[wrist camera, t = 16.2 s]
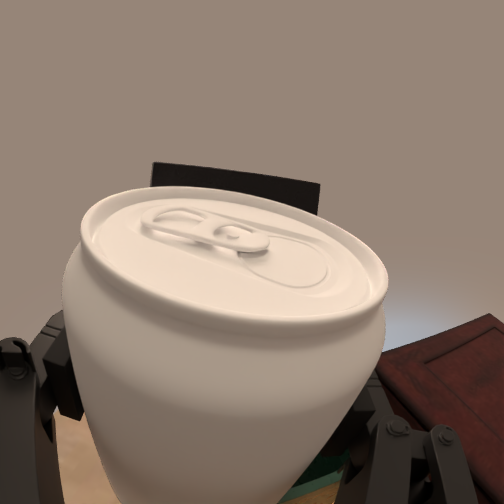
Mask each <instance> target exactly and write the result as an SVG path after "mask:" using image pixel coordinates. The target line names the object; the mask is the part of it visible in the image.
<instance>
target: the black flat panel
mask: <svg viewBox="0 0 504 504" xmlns="http://www.w3.org/2000/svg"><path fill="white" fill-rule="evenodd" d="M167 186H181V187H200V188H210V189H218V190H225V191H232V192H237V193H243V194H248V195H252V196H257V197H261V198H265V199H269V200H272V201H276V202H279V203H282V204H286V205H289V206H292V207H295V208H297V209H300V210H303V211H306V212H308V213H311V214H313V215H315V216H317V211H318V203H319V193H320V184H318V183H313V182H307V181H302V180H296V179H290V178H283V177H277V176H271V175H263V174H257V173H250V172H243V171H236V170H228V169H220V168H212V167H203V166H194V165H185V164H174V163H163V162H153V163H152V171H151V180H150V187H167Z"/></svg>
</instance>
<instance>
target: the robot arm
mask: <svg viewBox="0 0 504 504" xmlns="http://www.w3.org/2000/svg"><path fill="white" fill-rule="evenodd" d="M381 386H382V385H381V383H380V381H379V380H378V376H377V374H376V372H375V370H373V372H372V373H371V375H370V377H369V378H368V380H367V382H366V384H365V385H364V387H363V388H362V390H361V392H360V393H359V395H358V396H357V398H356V400H355V401H354V403H353V404H352V406H351V407H350V409H349V410H348V412H347V413H346V415H345V416H344V418H343V419H342V421H341V422H340V424H339V425H338V427H337V428H336V430H335V431H334V432H333V434H332V435H331V437H330V438H329V439H328V441H327V442H326V444H325V445H324V446H323V448H322V449H321V450H320V454H321V457H331V456H341V455H342V454H343V453H344V452H345V450H346V449H347V448H348V450H349V454H350V457H349V458H348V459H347V460H346V461H345V462H344V463H343V465H342V466H341V467H340V468H339V469H338V471H337V473H338V474H339V473H340V472H341V471H342V470H343V469H344V470H343V474H342V477H341V481H340V485H339V488H338V492H337V495H336V499H335V502H334V504H478V500H477V496H476V492H475V488H474V484H473V481H472V477H471V474H470V470H469V467H468V464H467V460H466V457H465V454H464V451H463V448H462V445H461V442H460V439H459V436H458V434H457V433H456V431H455V430H454V429H453V428H451V427H449V426H447V425H443V424H440V425H436V426H435V427H434V428H433V429H432V430H431V431H430V432H424V431H418V430H413V429H411V427H410V425H409V423H408V422H407V421H406V420H405V419H403V418H402V417H399V416H397V415H394V413H393V410H392V408H391V406H390V403H389V401H388V399H387V397H386V394H385V392H384V390H383V388H382V387H381ZM56 406H58V409H59V411H60V414H61V415H63V416H66V417H69V418H72V419H75V420H78V421H80V420H81V418H82V416H83V413H84V408H83V405H82V401H81V397H80V393H79V390H78V386H77V382H76V377H75V373H74V369H73V364H72V360H71V355H70V350H69V345H68V339H67V333H66V328H65V321H64V314H63V310H61V311H60V312H58V313H56V314H55V315H53V316H52V317H51V318H50V319H49V321H48V322H47V323H46V326H44V327H43V329H42V330H41V332H40V333H39V334H38V335H37V336H36V338H35V339H34V340H33V342H32V343H31V344H30V346H29V345H28V344H27V342H26V341H24V340H22V339H21V338H15V337H12V338H6V339H3V340H1V341H0V504H65V503H64V498H63V492H62V486H61V479H60V472H59V463H58V454H57V443H56V428H55V419H54V415H53V412H54V410H55V408H56ZM429 475H431V480H432V481H430V480H429V477H428V476H429Z"/></svg>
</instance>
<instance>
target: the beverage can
mask: <svg viewBox="0 0 504 504" xmlns="http://www.w3.org/2000/svg"><path fill="white" fill-rule="evenodd" d="M388 282H389V281H388V275H387V271H386V269H385V267H384V265H383V263H382V262H381V260H380V259H379V258H378V256H377V255H376V254H375V253H374V252H373V251H372V250H371V249H370V248H369V247H368V246H367V245H366V244H364V243H363V242H362V241H360V240H359V239H358V238H356V237H355V236H353V235H352V234H350V233H349V232H347V231H345V230H344V229H342V228H340V227H338V226H336V225H334V224H333V223H330V222H329V221H326V220H324V219H322V218H320V217H317V216H315V215H313V214H311V213H308V212H306V211H303V210H300V209H297V208H295V207H292V206H289V205H286V204H282V203H279V202H276V201H272V200H269V199H265V198H261V197H257V196H252V195H248V194H243V193H237V192H232V191H225V190H218V189H210V188H200V187H181V186H167V187H150V188H142V189H135V190H129V191H125V192H121V193H118V194H115V195H112V196H109V197H107V198H105V199H103V200H101V201H100V202H98V203H96V204H95V205H93V206H92V207H91V208H90V209H89V210H88V211H87V212H86V214H85V216H84V217H83V219H82V222H81V227H80V242H79V244H78V245H77V247H76V248H75V250H74V252H73V253H72V255H71V257H70V259H69V261H68V263H67V266H66V269H65V272H64V276H63V281H62V294H61V296H62V307H63V314H64V321H65V328H66V333H67V339H68V345H69V350H70V355H71V360H72V364H73V369H74V373H75V377H76V382H77V386H78V390H79V393H80V397H81V401H82V405H83V408H84V412H85V415H86V418H87V421H88V425H89V428H90V431H91V434H92V437H93V440H94V443H95V446H96V449H97V451H98V454H99V457H100V459H101V462H102V465H103V467H104V470H105V472H106V475H107V477H108V480H109V482H110V484H111V486H112V489H113V491H114V492H115V494H116V496H117V498H118V499H119V501H120V502H121V503H122V504H277V503H278V501H279V500H280V499H281V498H282V497H283V496H284V495H285V494H286V492H287V491H288V490H289V489H290V488H291V487H292V485H293V484H294V483H295V482H296V481H297V479H298V478H299V477H300V476H301V475H302V473H303V472H304V471H305V470H306V468H307V467H308V466H309V465H310V463H311V462H312V461H313V459H314V458H315V457H316V456H317V454H318V453H319V452H320V450H321V449H322V448H323V446H324V445H325V444H326V442H327V441H328V439H329V438H330V437H331V435H332V434H333V432H334V431H335V430H336V428H337V427H338V425H339V424H340V422H341V421H342V419H343V418H344V416H345V415H346V413H347V412H348V410H349V409H350V407H351V406H352V404H353V403H354V401H355V400H356V398H357V396H358V395H359V393H360V392H361V390H362V388H363V387H364V385H365V384H366V382H367V380H368V378H369V377H370V375H371V373H372V372H373V370H374V368H375V366H376V364H377V362H378V360H379V358H380V355H381V352H382V349H383V345H384V340H385V315H384V310H383V305H382V302H383V300H384V298H385V295H386V293H387V290H388Z"/></svg>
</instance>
